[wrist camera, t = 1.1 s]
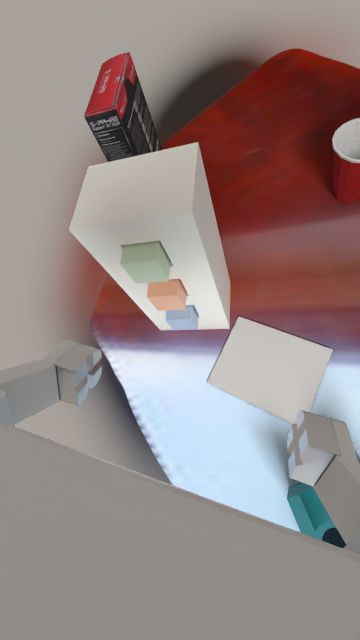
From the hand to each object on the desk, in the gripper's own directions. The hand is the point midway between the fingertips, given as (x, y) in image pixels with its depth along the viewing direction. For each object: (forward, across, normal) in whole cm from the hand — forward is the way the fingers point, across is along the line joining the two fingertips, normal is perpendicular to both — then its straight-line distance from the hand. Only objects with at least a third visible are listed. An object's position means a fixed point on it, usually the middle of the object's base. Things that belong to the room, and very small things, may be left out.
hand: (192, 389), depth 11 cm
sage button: (+24, +10, +5) cm, 27 cm away
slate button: (+34, +7, +17) cm, 39 cm away
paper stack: (+35, -14, +18) cm, 42 cm away
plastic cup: (+62, -18, -6) cm, 65 cm away
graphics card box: (+66, +24, +4) cm, 71 cm away
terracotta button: (+29, +8, +11) cm, 32 cm away
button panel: (+42, +6, +18) cm, 46 cm away
